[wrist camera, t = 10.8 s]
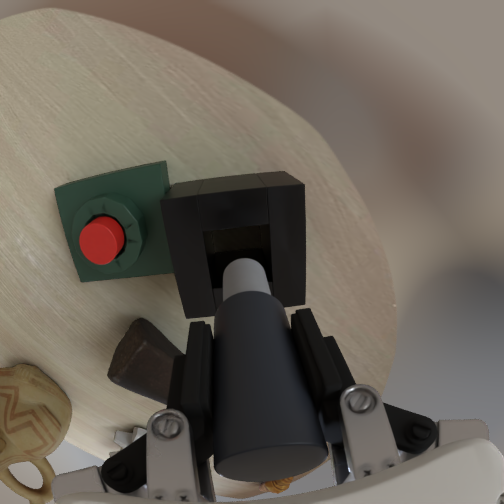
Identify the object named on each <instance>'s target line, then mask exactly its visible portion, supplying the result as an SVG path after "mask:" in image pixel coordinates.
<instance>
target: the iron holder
mask: <svg viewBox="0 0 504 504" xmlns="http://www.w3.org/2000/svg"><path fill="white" fill-rule="evenodd" d="M160 206H161V211H162V217H163V222H164V227H165V232H166V237H167V242H168V246H169V251H170V256H171V260H172V265H173V269H174V273H175V277H176V282H177V286H178V290H179V294H180V298H181V302H182V305H183V309H184V313H185V317H186V319H189V318H200V317H210V316H215V313H216V311H217V309H218V307H219V306H220V305H221V303H222V302H223V274H224V271H225V269H226V267H227V266H228V265H229V264H230V263H231V262H233V261H235V260H237V259H242V258H248V259H252V260H255V261H257V262H258V263H259V264H260V265H261V266H262V267H263V269H264V271H265V274H266V278H267V282H268V285H269V289H270V292H271V295H272V296H273V297H275V298H276V299H278V300H279V301H280V302H281V304H282V305H283V307H284V308H285V307H292V306H298V305H305V296H306V215H305V185H304V184H303V183H302V182H300V181H299V180H297V179H296V178H294V177H293V176H291V175H290V174H288V173H287V172H285V171H279V172H266V173H256V174H245V175H235V176H226V177H218V178H210V179H202V180H195V181H188V182H181V183H176V184H175V185H174V186H173V187H172V188H171V189H170V190H169V191H168V192H167V193H166V194H165V195H164V196H163V198H162V199H161V200H160ZM255 225H260V231H261V244H262V248H256V249H248V250H239V251H231V252H222V253H215V254H214V247H213V240H212V234H211V231H212V230H220V229H229V228H237V227H246V226H255Z"/></svg>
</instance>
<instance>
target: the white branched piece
mask: <svg viewBox="0 0 504 504" xmlns="http://www.w3.org/2000/svg"><path fill="white" fill-rule="evenodd" d="M145 433H147V430H145V429H142V428H139V427H138V428H137V427H134V430H133V433H128V432H122V431H116V432H115V437H114V442H115V443H117V444H118V445H119V446H121V450H122V449H124V448H125V447H127V446H128V445H130V444H131V443H133V442H134V441H135V440H137V439H138V438H140V437H141V436H143V435H144V434H145ZM121 450H120V451H121ZM118 452H119V451H117V452H110V453H109V455H110V457H111V456H113V455H115V454H116V453H118Z"/></svg>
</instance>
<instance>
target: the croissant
mask: <svg viewBox="0 0 504 504" xmlns="http://www.w3.org/2000/svg"><path fill="white" fill-rule="evenodd" d="M292 479H293V477H289V478H285V479H280V480H274V481H264V482H262V483H261V484H260V486H259V489H260V490H261V491H265V492H272V493H280V492H283V491H285V490H286V489H288V488H289V485H290V483H291V481H292Z"/></svg>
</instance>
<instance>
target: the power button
mask: <svg viewBox="0 0 504 504" xmlns="http://www.w3.org/2000/svg"><path fill="white" fill-rule="evenodd" d="M79 243H80V248H81V250H82V252H83V254H84V255H85V257H86V258H87V259H88V260H90V261H91V262H93V263H95V264H100V265H103V264H107V263H109V262H111V261H112V260H113V259H114V258H115V256H116V255H117V254H118V253H119V251H120V250H121V249H122V247H123V244H124V233H123V230H122V228H121V226H120V225H119V223H118V222H117V221H115V220H114V219H112V218H110V217H106V216H101V217H98V218H96V219H94V220H93V221H92V222H91V223H89V224H88V225H87V226H85V227H84V229H83V230H82V232H81V234H80V239H79Z"/></svg>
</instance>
